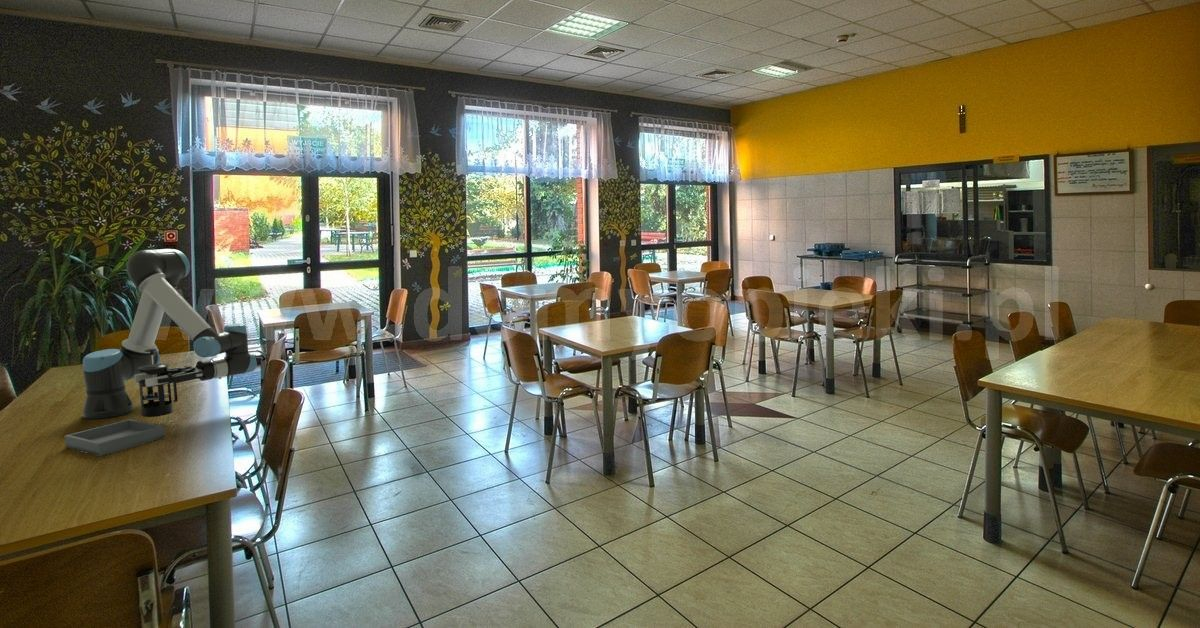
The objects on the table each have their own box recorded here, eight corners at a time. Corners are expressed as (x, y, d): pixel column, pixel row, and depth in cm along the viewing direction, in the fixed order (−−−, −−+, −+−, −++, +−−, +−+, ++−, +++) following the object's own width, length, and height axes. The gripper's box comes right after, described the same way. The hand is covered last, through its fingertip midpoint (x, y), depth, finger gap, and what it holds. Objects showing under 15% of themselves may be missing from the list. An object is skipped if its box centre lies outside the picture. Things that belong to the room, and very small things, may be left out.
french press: (146, 419, 216) (139, 353, 213) (134, 414, 222) (127, 350, 218) (183, 411, 226) (178, 347, 223) (171, 406, 231) (165, 344, 228)
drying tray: (66, 447, 200) (64, 435, 200) (131, 430, 217) (130, 419, 217) (99, 456, 192) (98, 444, 192) (165, 437, 209) (163, 426, 209)
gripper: (225, 383, 231) (154, 396, 213) (199, 374, 243) (129, 386, 225) (223, 363, 230) (152, 374, 212) (197, 355, 242) (127, 366, 224)
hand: (140, 380), depth 218 cm, fingers closed on french press, 8 cm apart
